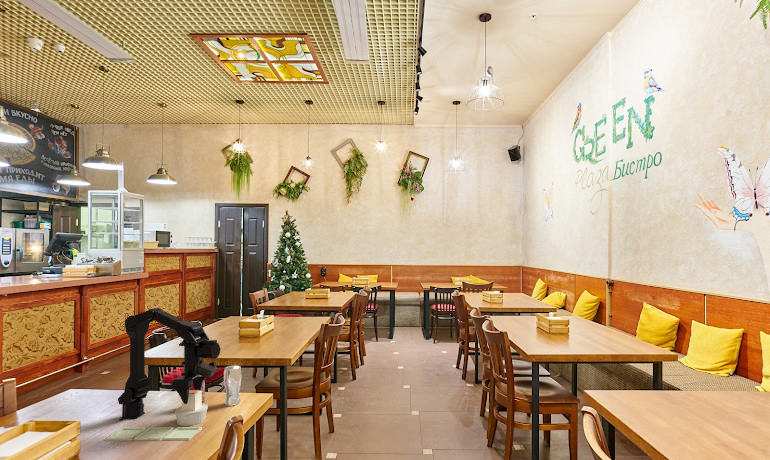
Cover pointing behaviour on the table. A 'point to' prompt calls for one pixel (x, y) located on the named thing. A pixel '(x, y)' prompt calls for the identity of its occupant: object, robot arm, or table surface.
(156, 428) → the tray
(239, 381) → the beer glass
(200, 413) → the ramekin
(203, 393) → the soda can
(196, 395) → the cream block
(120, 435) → the tray
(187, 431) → the tray
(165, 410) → the table surface
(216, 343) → the robot arm
